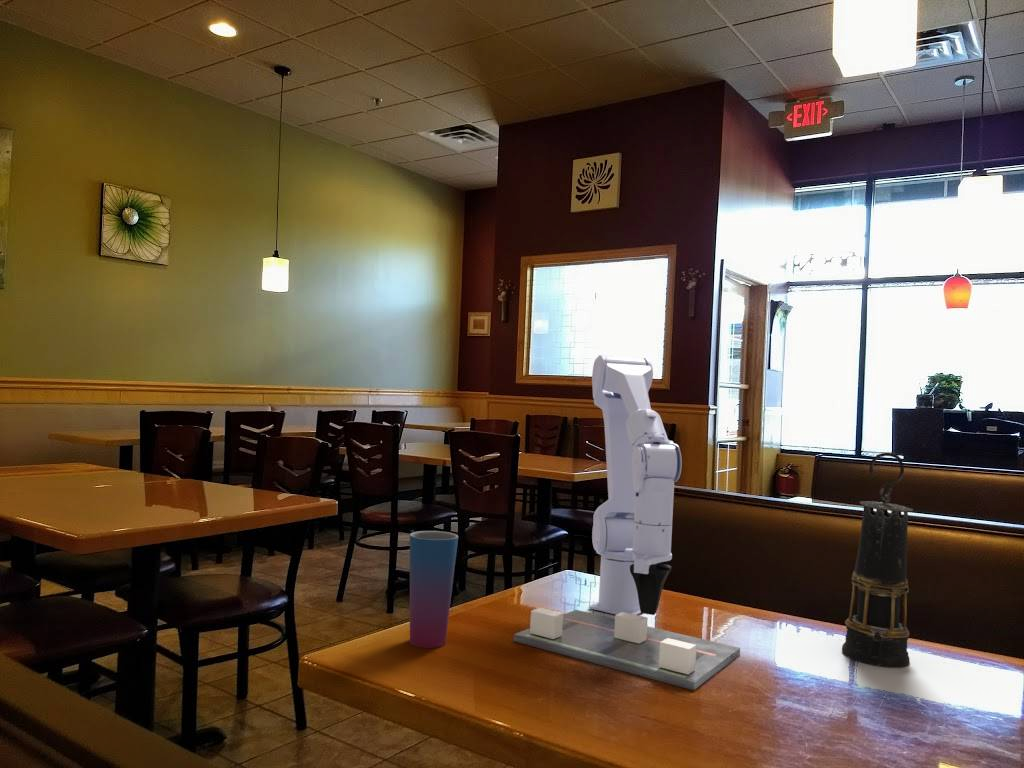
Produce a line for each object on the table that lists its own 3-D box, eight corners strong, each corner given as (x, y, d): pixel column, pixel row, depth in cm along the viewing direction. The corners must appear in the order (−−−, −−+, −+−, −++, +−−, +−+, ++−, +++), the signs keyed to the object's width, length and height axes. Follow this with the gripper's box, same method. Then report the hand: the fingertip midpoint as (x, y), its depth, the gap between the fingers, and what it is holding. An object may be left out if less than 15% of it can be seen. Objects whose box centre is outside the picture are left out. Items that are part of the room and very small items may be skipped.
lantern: (876, 670, 106) (886, 454, 106) (827, 648, 114) (836, 449, 115) (924, 665, 109) (933, 456, 110) (872, 644, 118) (881, 450, 118)
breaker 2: (666, 662, 101) (667, 637, 101) (695, 669, 98) (696, 644, 98) (658, 666, 99) (660, 642, 99) (688, 674, 96) (689, 649, 96)
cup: (449, 651, 103) (456, 541, 103) (399, 648, 103) (406, 537, 104) (454, 636, 110) (460, 532, 110) (407, 633, 110) (413, 529, 110)
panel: (575, 615, 124) (575, 609, 124) (739, 654, 109) (740, 647, 109) (513, 641, 109) (514, 634, 109) (694, 690, 94) (694, 682, 94)
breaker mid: (621, 633, 112) (622, 611, 112) (646, 639, 110) (647, 617, 110) (614, 637, 110) (615, 615, 110) (639, 643, 108) (640, 621, 108)
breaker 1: (538, 629, 112) (539, 607, 112) (562, 635, 110) (563, 613, 110) (529, 632, 110) (530, 610, 110) (553, 639, 108) (554, 616, 108)
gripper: (637, 514, 123) (633, 598, 123) (615, 525, 110) (610, 620, 110) (681, 519, 121) (677, 605, 120) (664, 531, 107) (659, 628, 107)
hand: (648, 613), depth 115 cm, fingers closed
